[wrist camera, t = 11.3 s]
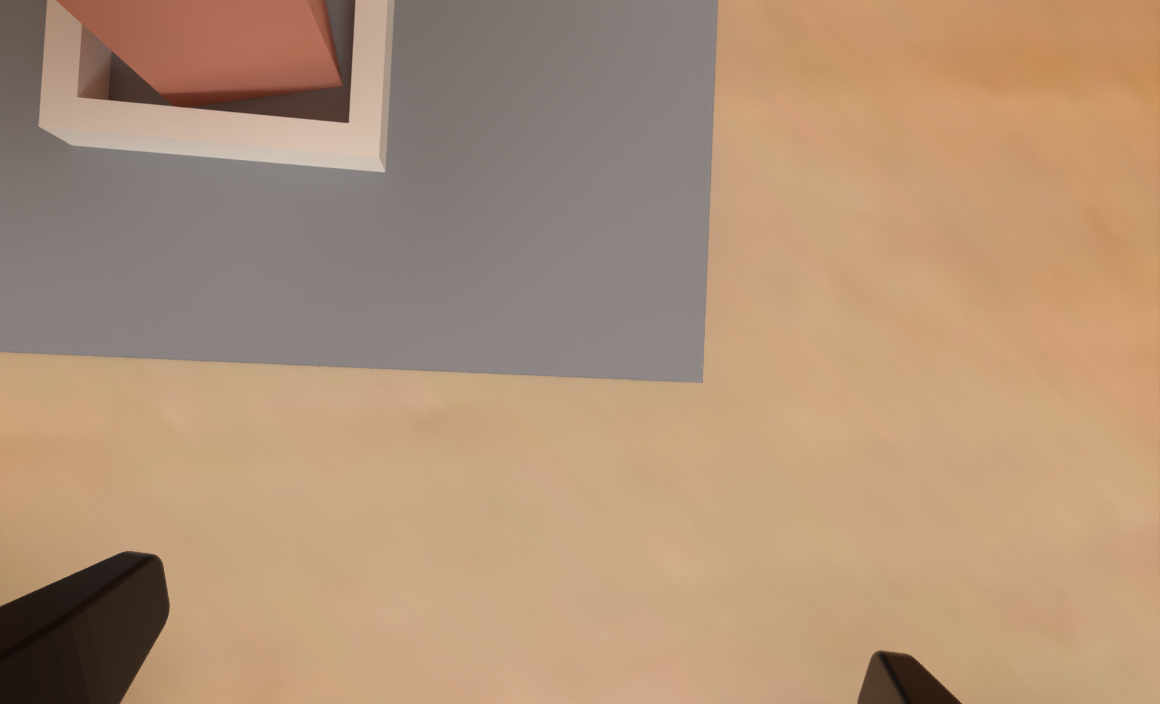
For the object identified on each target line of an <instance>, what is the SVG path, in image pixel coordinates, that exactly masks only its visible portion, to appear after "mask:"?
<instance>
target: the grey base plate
mask: <svg viewBox="0 0 1160 704" xmlns="http://www.w3.org/2000/svg"><path fill="white" fill-rule="evenodd" d="M326 4H327V8H328V13H329V18H330V23H331V28H332V33H333V38H334V43H335V47H336V52H337V57H338V62H339V67H340V72H341V77H342V82H343V86H342V87H334V88H327V89H319V90H312V91H305V92H297V93H290V94H282V95H275V96H268V97H260V98H253V99H245V100H238V101H231V102H223V103H216V104H208V105H201V106H194V107H186V108H184V107H174V106H173V105H172V104H170V103H169V102H168V101H167V100H166V99H165V98H164V97H163V96H162V95H160V94H159V93H158V92H157V91H156V90H155V89H154V88H153V87H152V86H150V85H149V84H148V83H147V82H146V81H145V80H144V79H143V78H142V77H140V76H139V75H138V74H137V73H136V72H135V71H134V70H133V69H132V68H130V67H129V66H128V65H127V64H126V63H125V62H124V61H123V60H122V59H120V58H119V57H118V56H117V55H116V54H115V53H114V52H113V51H112V50H110V49H109V48H108V47H107V46H106V45H105V44H104V43H103V42H102V41H100V40H99V39H98V38H97V37H96V36H95V35H94V34H93V33H92V32H90V31H89V30H88V29H87V28H86V27H85V26H84V25H83V24H82V23H80V22H79V21H78V20H77V19H76V18H75V17H74V16H73V15H72V14H70V13H69V12H68V11H67V10H66V9H65V8H64V7H63V6H62V5H60V4H59V3H58V2H57V1H56V0H0V352H12V353H35V354H57V355H80V356H103V357H126V358H148V359H171V360H194V361H217V362H239V363H262V364H285V365H308V366H331V367H353V368H376V369H399V370H422V371H444V372H467V373H490V374H513V375H535V376H558V377H581V378H604V379H626V380H649V381H672V382H695V383H703V363H704V338H705V313H706V288H707V262H708V237H709V212H710V187H711V162H712V137H713V112H714V87H715V62H716V37H717V12H718V0H326Z"/></svg>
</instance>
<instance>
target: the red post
mask: <svg viewBox="0 0 1160 704" xmlns="http://www.w3.org/2000/svg"><path fill="white" fill-rule="evenodd" d="M56 1H57V2H58V3H59V4H60V5H62V6H63V7H64V8H65V9H66V10H67V11H68V12H69V13H70V14H72V15H73V16H74V17H75V18H76V19H77V20H78V21H79V22H80V23H82V24H83V25H84V26H85V27H86V28H87V29H88V30H89V31H90V32H92V33H93V34H94V35H95V36H96V37H97V38H98V39H99V40H100V41H102V42H103V43H104V44H105V45H106V46H107V47H108V48H109V49H110V50H112V51H113V52H114V53H115V54H116V55H117V56H118V57H119V58H120V59H122V60H123V61H124V62H125V63H126V64H127V65H128V66H129V67H130V68H132V69H133V70H134V71H135V72H136V73H137V74H138V75H139V76H140V77H142V78H143V79H144V80H145V81H146V82H147V83H148V84H149V85H150V86H152V87H153V88H154V89H155V90H156V91H157V92H158V93H159V94H160V95H162V96H163V97H164V98H165V99H166V100H167V101H168V102H169V103H170V104H172V105H173V106H174V107H184V108H186V107H194V106H201V105H208V104H216V103H223V102H231V101H238V100H245V99H253V98H260V97H268V96H275V95H282V94H290V93H297V92H305V91H312V90H319V89H327V88H334V87H342V86H343V82H342V77H341V72H340V67H339V62H338V57H337V52H336V47H335V43H334V38H333V33H332V28H331V23H330V18H329V13H328V8H327V4H326V0H56Z"/></svg>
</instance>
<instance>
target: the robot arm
mask: <svg viewBox="0 0 1160 704" xmlns="http://www.w3.org/2000/svg"><path fill="white" fill-rule="evenodd" d="M169 608H170V604H169V597H168V591H167V585H166V579H165V573H164V567H163V563H162V560H161V559H160V558H159V557H158V556H156V555H154V554H149V553H141V552H134V551H126V552H122V553H119V554H117V555H115V556H113V557H110V558H108V559H106V560H104V561H101V562H99V563H97V564H95V565H92V566H90V567H88V568H86V569H83V570H81V571H79V572H77V573H74V574H72V575H70V576H68V577H65V578H63V579H61V580H59V581H56V582H54V583H52V584H50V585H47V586H45V587H43V588H41V589H38V590H36V591H34V592H32V593H29V594H27V595H25V596H23V597H20V598H18V599H16V600H14V601H11V602H9V603H7V604H5V605H2V606H0V704H120V703H121V701H122V699H123V697H124V696H125V694H126V692H127V690H128V689H129V687H130V685H131V683H132V682H133V680H134V678H135V676H136V675H137V673H138V671H139V669H140V668H141V666H142V664H143V662H144V661H145V659H146V657H147V655H148V654H149V652H150V650H151V648H152V647H153V645H154V643H155V641H156V640H157V638H158V636H159V634H160V633H161V631H162V629H163V627H164V625H165V623H166V621H167V618H168V615H169ZM857 704H962V703H961V702H960V701H959V700H958V699H957V698H956V697H955V696H954V695H952V694H951V693H950V692H949V691H948V690H947V689H946V688H945V687H944V686H943V685H942V684H941V683H940V682H939V681H938V680H937V679H936V678H935V677H934V676H933V675H932V674H931V673H930V672H929V671H928V670H927V669H926V668H924V667H923V666H922V665H921V664H920V663H919V662H918V661H917V660H916V659H915V658H914V657H912V656H911V655H908V654H905V653H897V652H890V651H877V652H875V653H874V654H873V655H872V657H871V660H870V663H869V666H868V669H867V672H866V675H865V678H864V682H863V685H862V688H861V691H860V694H859V698H858V703H857Z"/></svg>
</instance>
